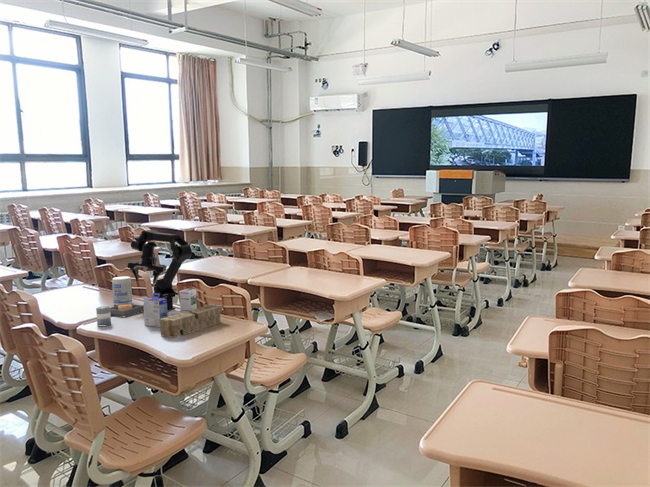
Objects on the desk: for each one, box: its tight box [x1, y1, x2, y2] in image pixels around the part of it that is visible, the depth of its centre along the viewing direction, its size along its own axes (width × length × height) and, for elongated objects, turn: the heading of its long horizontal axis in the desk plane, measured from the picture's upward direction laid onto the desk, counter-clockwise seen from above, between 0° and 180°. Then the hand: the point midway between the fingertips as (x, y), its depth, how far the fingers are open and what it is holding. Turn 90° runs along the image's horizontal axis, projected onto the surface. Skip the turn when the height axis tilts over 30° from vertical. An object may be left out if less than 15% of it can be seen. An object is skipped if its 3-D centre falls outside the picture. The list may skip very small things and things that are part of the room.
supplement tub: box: [111, 276, 133, 306], centre depth 268 cm, size 10×10×15 cm
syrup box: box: [179, 288, 199, 313], centre depth 233 cm, size 6×6×14 cm
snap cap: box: [118, 303, 132, 311], centre depth 249 cm, size 7×7×3 cm
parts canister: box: [95, 305, 112, 326], centre depth 228 cm, size 6×6×8 cm
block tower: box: [159, 303, 223, 338], centre depth 219 cm, size 8×8×29 cm
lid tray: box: [110, 303, 144, 317], centre depth 249 cm, size 12×12×3 cm
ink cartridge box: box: [142, 292, 169, 328], centre depth 225 cm, size 10×6×14 cm, turn 65°
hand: (146, 282), depth 260 cm, fingers open, 9 cm apart
